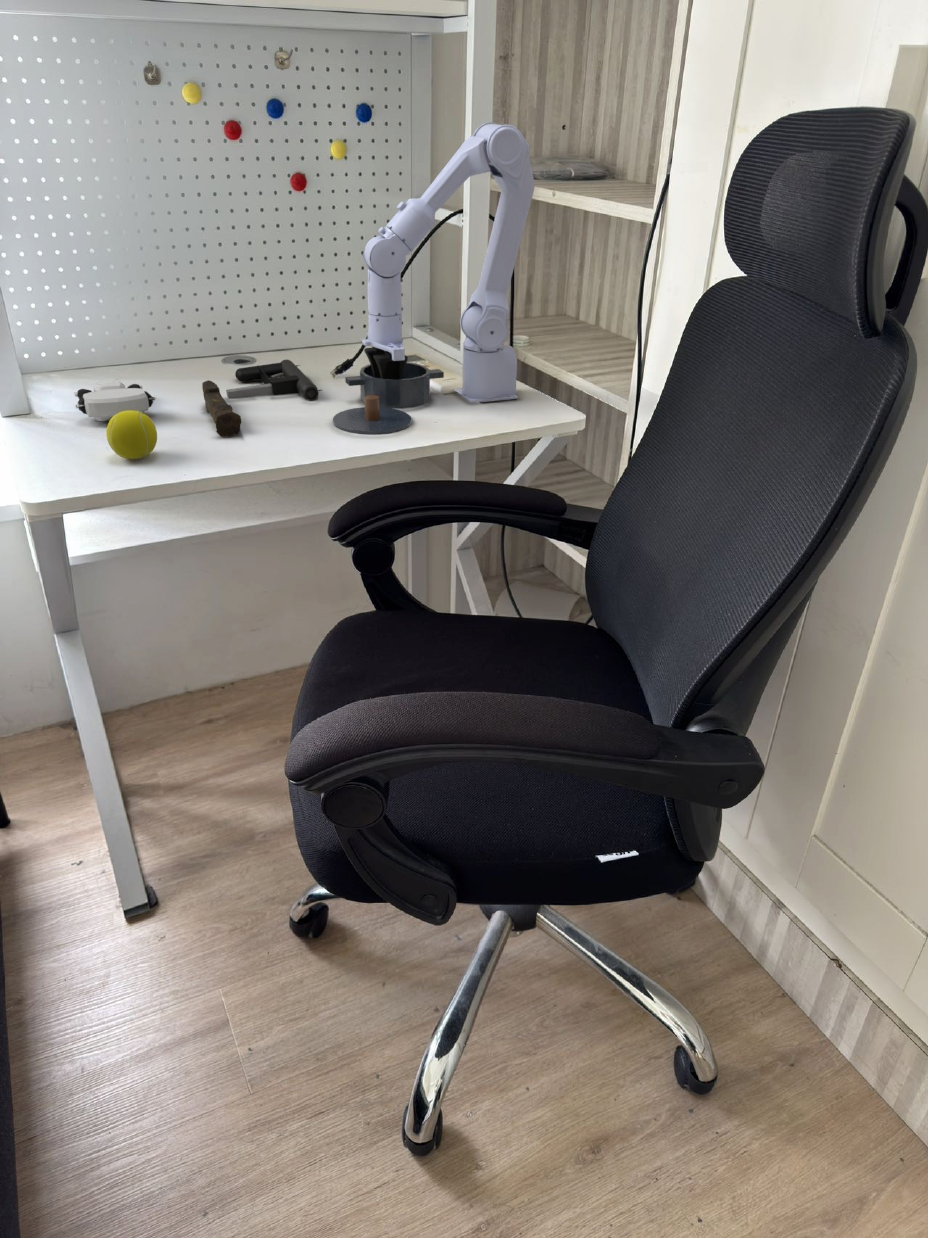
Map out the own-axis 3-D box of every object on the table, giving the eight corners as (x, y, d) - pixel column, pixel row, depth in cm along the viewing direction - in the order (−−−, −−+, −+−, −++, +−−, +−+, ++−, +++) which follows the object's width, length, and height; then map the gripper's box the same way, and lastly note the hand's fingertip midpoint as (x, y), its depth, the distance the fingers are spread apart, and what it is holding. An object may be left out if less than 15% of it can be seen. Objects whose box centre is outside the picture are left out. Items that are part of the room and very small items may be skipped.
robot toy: (73, 409, 158) (81, 429, 145) (68, 383, 156) (76, 400, 143) (147, 402, 162) (161, 420, 150) (143, 376, 160) (156, 392, 148)
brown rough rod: (243, 436, 145) (240, 407, 143) (217, 438, 144) (214, 409, 142) (225, 403, 161) (222, 376, 158) (201, 404, 159) (198, 378, 157)
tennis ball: (163, 448, 139) (156, 403, 136) (157, 465, 134) (150, 418, 130) (115, 450, 138) (107, 404, 135) (107, 466, 132) (98, 419, 129)
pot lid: (324, 417, 155) (322, 389, 152) (396, 410, 159) (396, 383, 157) (345, 441, 144) (344, 412, 142) (422, 432, 149) (422, 404, 147)
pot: (338, 396, 166) (337, 365, 163) (429, 387, 172) (429, 358, 169) (358, 415, 156) (357, 383, 153) (453, 406, 162) (454, 375, 159)
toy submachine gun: (233, 396, 155) (324, 383, 160) (213, 367, 171) (297, 356, 176) (236, 415, 157) (326, 401, 162) (216, 385, 173) (299, 373, 178)
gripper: (350, 305, 160) (352, 382, 167) (375, 323, 148) (377, 405, 155) (388, 303, 162) (389, 379, 169) (416, 320, 151) (416, 401, 158)
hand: (386, 391), depth 162 cm, fingers open, 3 cm apart
